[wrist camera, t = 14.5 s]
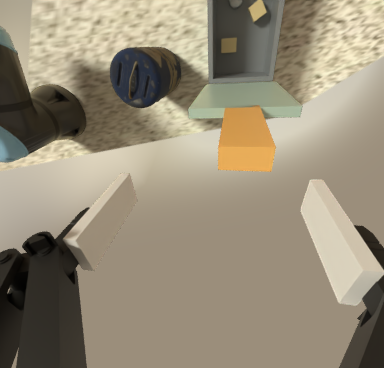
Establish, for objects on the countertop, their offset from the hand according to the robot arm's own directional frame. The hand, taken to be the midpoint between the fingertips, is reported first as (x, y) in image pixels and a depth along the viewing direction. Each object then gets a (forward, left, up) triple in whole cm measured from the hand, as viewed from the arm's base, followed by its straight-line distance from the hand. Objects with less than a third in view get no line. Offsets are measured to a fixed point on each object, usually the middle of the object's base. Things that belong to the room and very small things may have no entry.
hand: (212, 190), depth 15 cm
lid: (+2, +3, -16) cm, 17 cm away
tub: (+2, +12, -40) cm, 42 cm away
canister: (-16, +5, -40) cm, 44 cm away
